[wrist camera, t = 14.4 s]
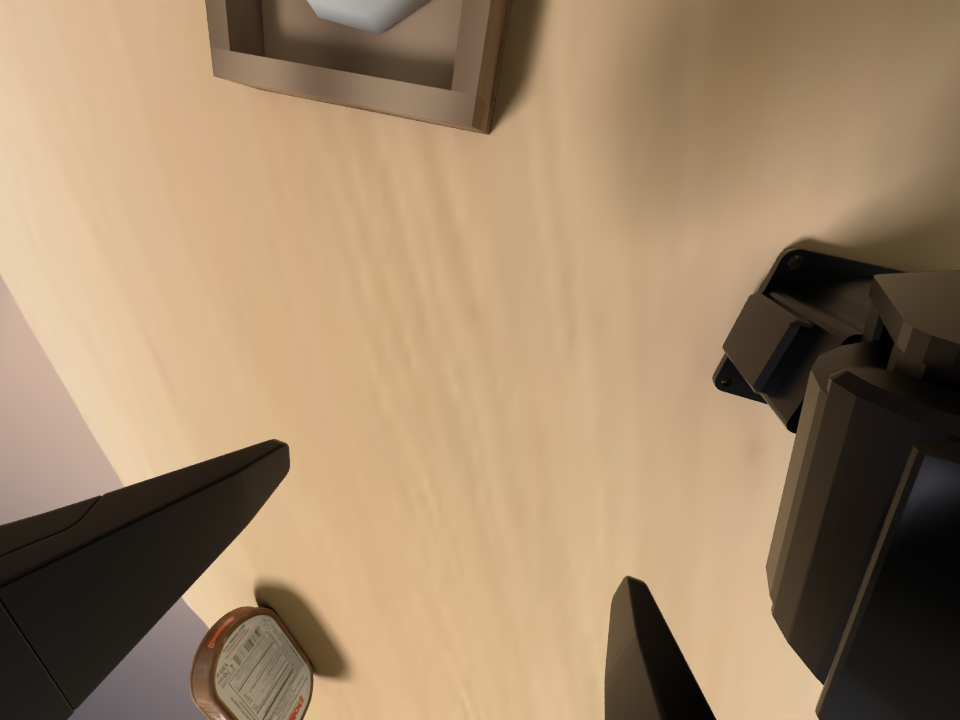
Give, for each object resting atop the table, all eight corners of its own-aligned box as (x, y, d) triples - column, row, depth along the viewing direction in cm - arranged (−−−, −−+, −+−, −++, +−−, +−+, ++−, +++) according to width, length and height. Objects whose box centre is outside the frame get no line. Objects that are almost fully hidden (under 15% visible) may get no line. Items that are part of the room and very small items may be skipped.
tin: (244, 587, 40) (164, 676, 33) (264, 588, 39) (186, 680, 32) (310, 678, 45) (252, 775, 37) (330, 682, 44) (274, 782, 36)
